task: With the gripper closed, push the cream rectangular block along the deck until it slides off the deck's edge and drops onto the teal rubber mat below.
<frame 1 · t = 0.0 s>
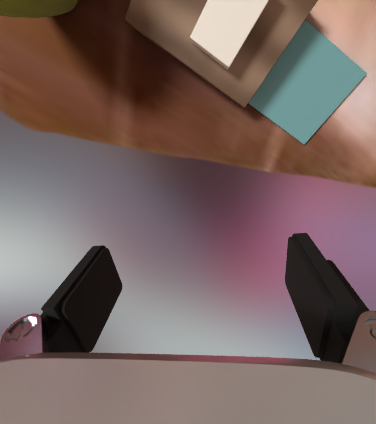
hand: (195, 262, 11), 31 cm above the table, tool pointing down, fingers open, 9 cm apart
mat: (303, 89, 33), on the table
deck: (216, 19, 30), on the table
cream rectangular block: (229, 19, 27), point 4 cm above the table, touching deck
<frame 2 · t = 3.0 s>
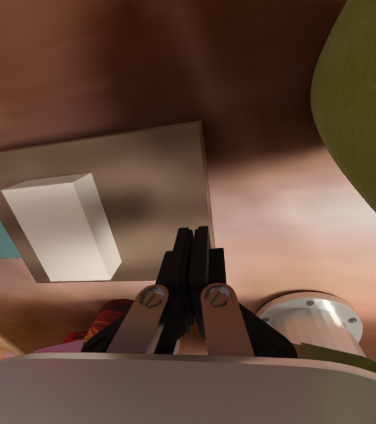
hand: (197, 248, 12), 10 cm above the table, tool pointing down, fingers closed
flower pot: (360, 81, 16), on the table
mug: (122, 326, 32), on the table
deck: (116, 204, 23), on the table
cream rectangular block: (78, 223, 19), point 4 cm above the table, touching deck
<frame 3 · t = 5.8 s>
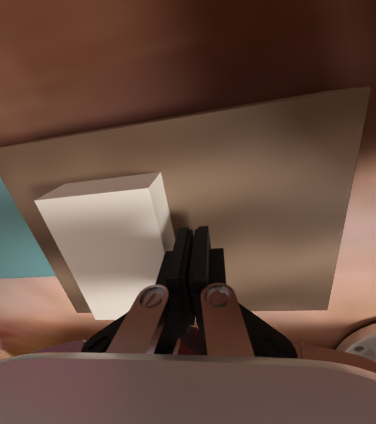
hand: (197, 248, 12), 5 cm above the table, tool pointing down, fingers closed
mug: (166, 352, 27), on the table
mat: (11, 226, 20), on the table
deck: (181, 210, 17), on the table
cream rectangular block: (131, 241, 14), point 4 cm above the table, touching deck
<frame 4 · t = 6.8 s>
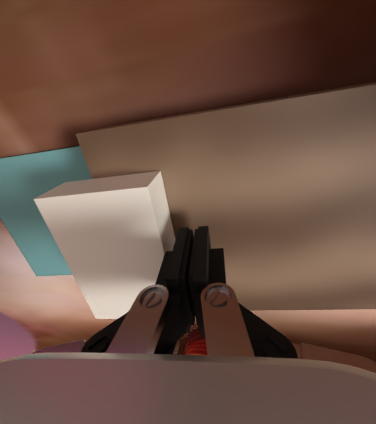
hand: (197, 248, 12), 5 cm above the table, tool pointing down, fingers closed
mug: (211, 352, 26), on the table
mat: (66, 220, 19), on the table
deck: (256, 203, 16), on the table
cream rectangular block: (131, 241, 14), point 4 cm above the table, touching deck
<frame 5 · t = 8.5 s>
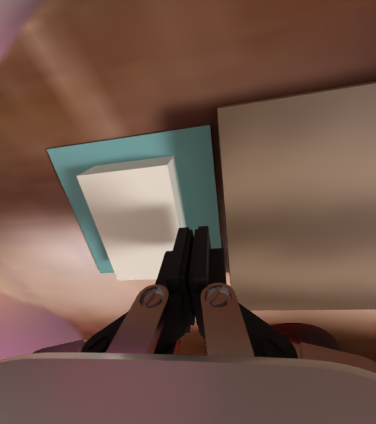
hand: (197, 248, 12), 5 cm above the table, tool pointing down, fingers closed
mug: (273, 354, 25), on the table
mat: (145, 212, 18), on the table
deck: (367, 193, 15), on the table
cream rectangular block: (138, 232, 15), point 3 cm above the table, tilted 180°, touching mat
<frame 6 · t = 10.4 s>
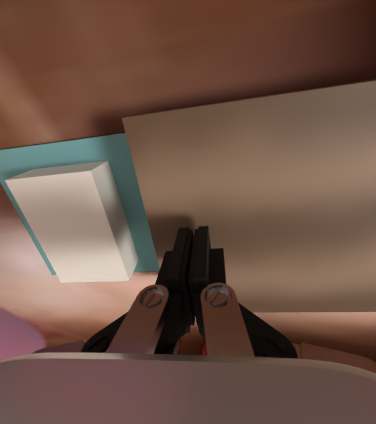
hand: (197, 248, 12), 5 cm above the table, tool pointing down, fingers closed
mat: (89, 215, 18), on the table
deck: (297, 199, 15), on the table
cream rectangular block: (73, 235, 15), point 3 cm above the table, tilted 180°, touching mat
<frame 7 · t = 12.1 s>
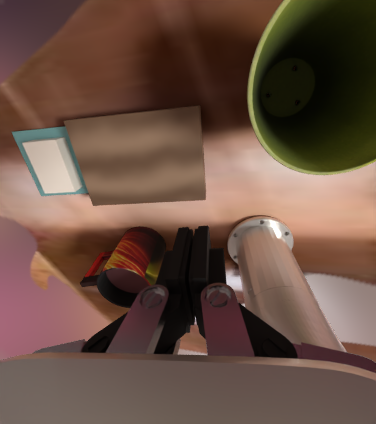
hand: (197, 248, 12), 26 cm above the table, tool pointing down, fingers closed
flower pot: (283, 88, 30), on the table
mug: (137, 249, 47), on the table
mat: (58, 163, 39), on the table
deck: (145, 156, 37), on the table
cream rectangular block: (49, 168, 36), point 3 cm above the table, tilted 180°, touching mat
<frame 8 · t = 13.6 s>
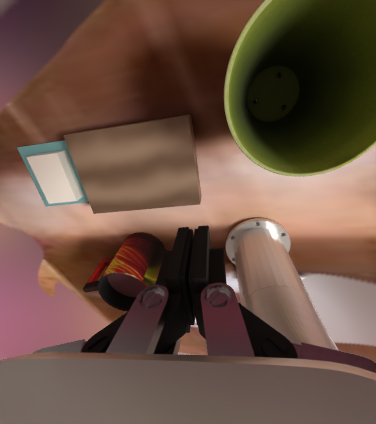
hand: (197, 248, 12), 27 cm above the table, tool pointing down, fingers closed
flower pot: (269, 94, 31), on the table
mug: (138, 254, 49), on the table
mat: (60, 174, 41), on the table
deck: (141, 164, 38), on the table
cream rectangular block: (52, 180, 38), point 3 cm above the table, tilted 180°, touching mat
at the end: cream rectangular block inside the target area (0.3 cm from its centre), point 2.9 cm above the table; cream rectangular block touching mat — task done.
